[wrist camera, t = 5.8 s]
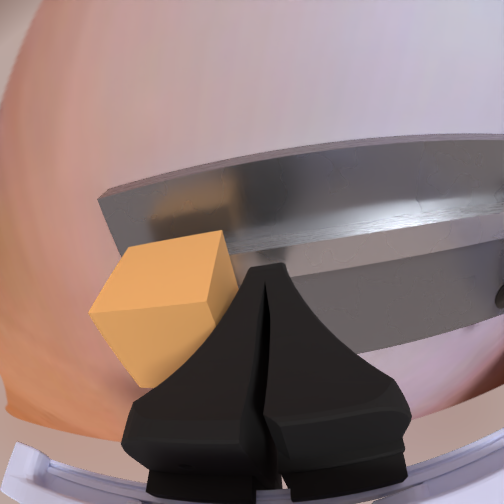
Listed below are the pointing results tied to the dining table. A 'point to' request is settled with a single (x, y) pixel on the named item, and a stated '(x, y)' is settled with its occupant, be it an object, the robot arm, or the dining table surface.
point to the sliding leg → (165, 303)
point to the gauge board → (348, 228)
